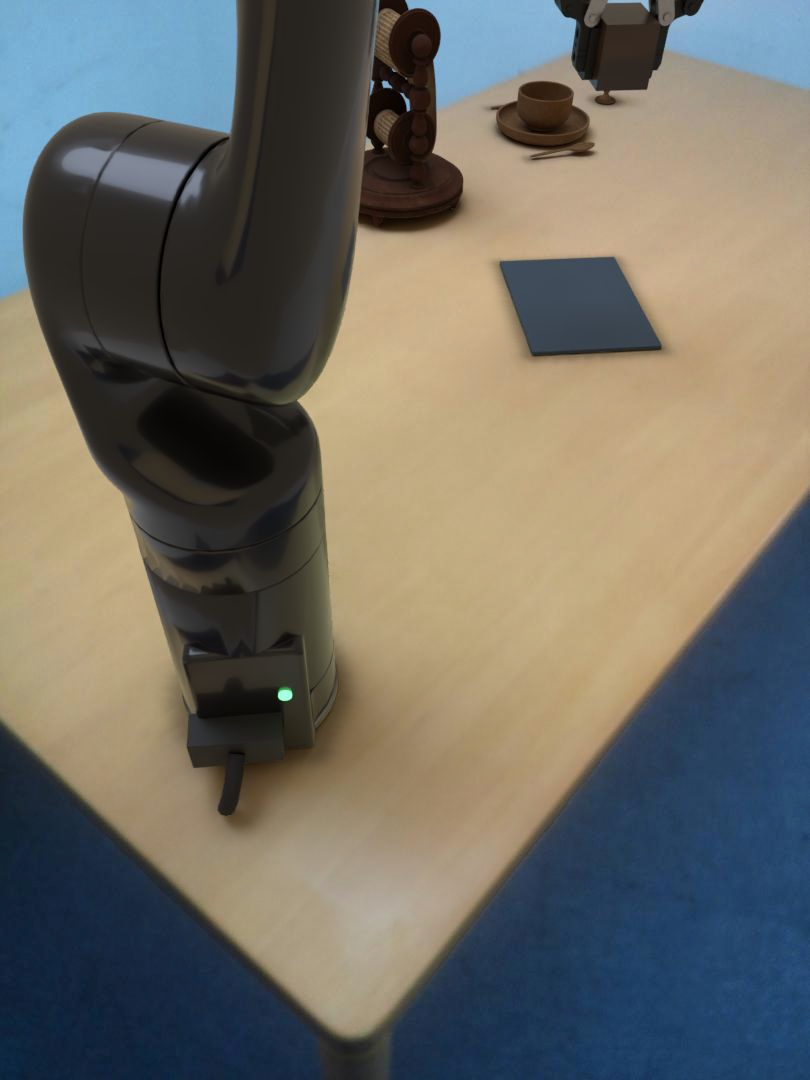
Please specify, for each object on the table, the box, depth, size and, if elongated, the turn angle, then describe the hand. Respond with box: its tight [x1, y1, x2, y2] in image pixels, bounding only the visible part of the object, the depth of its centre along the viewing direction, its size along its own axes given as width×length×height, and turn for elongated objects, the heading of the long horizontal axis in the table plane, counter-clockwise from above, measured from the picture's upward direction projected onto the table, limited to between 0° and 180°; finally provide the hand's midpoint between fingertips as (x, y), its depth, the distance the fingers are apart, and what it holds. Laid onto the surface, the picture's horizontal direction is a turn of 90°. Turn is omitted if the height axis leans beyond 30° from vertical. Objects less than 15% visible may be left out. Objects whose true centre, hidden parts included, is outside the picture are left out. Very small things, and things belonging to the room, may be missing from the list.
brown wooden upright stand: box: [359, 0, 464, 228], centre depth 91 cm, size 15×15×20 cm
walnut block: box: [588, 2, 661, 92], centre depth 66 cm, size 5×4×4 cm
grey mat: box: [499, 256, 663, 356], centre depth 84 cm, size 16×12×1 cm
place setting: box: [489, 80, 617, 158], centre depth 111 cm, size 18×20×6 cm
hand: (613, 74), depth 67 cm, fingers closed on walnut block, 4 cm apart
